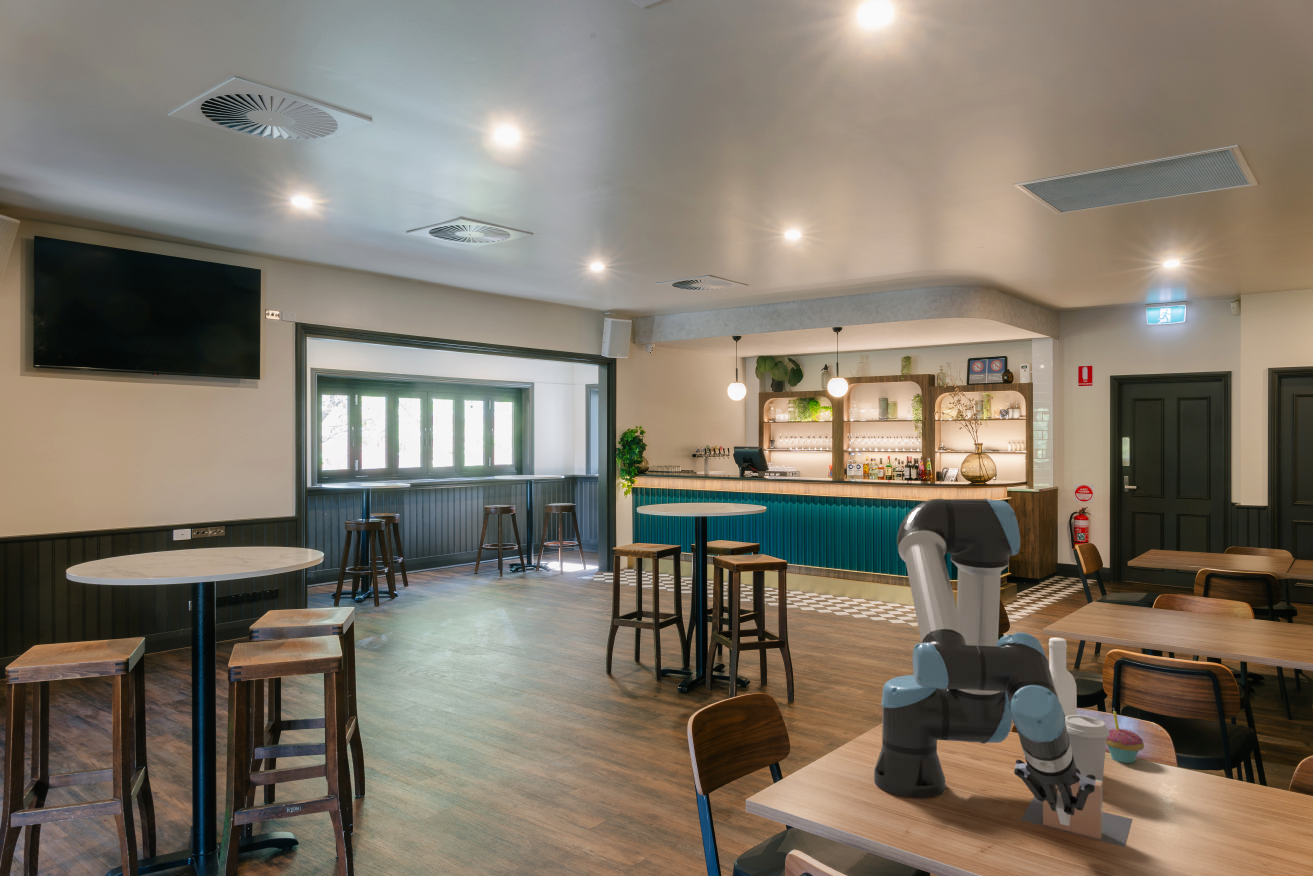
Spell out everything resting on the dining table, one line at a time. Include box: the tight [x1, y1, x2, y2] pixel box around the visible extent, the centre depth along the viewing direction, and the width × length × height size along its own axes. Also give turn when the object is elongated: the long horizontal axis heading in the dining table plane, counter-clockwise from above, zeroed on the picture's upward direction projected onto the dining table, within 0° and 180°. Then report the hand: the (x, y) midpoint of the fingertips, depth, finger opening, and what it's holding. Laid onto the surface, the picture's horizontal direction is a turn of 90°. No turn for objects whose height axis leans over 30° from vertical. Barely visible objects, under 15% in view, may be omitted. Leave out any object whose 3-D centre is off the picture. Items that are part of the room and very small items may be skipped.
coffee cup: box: [1065, 714, 1109, 785], centre depth 174 cm, size 10×10×15 cm
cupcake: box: [1106, 707, 1145, 764], centre depth 191 cm, size 9×8×12 cm
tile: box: [1043, 780, 1104, 839], centre depth 154 cm, size 10×3×10 cm, turn 54°
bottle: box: [1048, 637, 1078, 717], centre depth 187 cm, size 8×8×30 cm
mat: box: [1020, 795, 1133, 848], centre depth 158 cm, size 18×14×1 cm
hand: (1065, 817), depth 146 cm, fingers closed
